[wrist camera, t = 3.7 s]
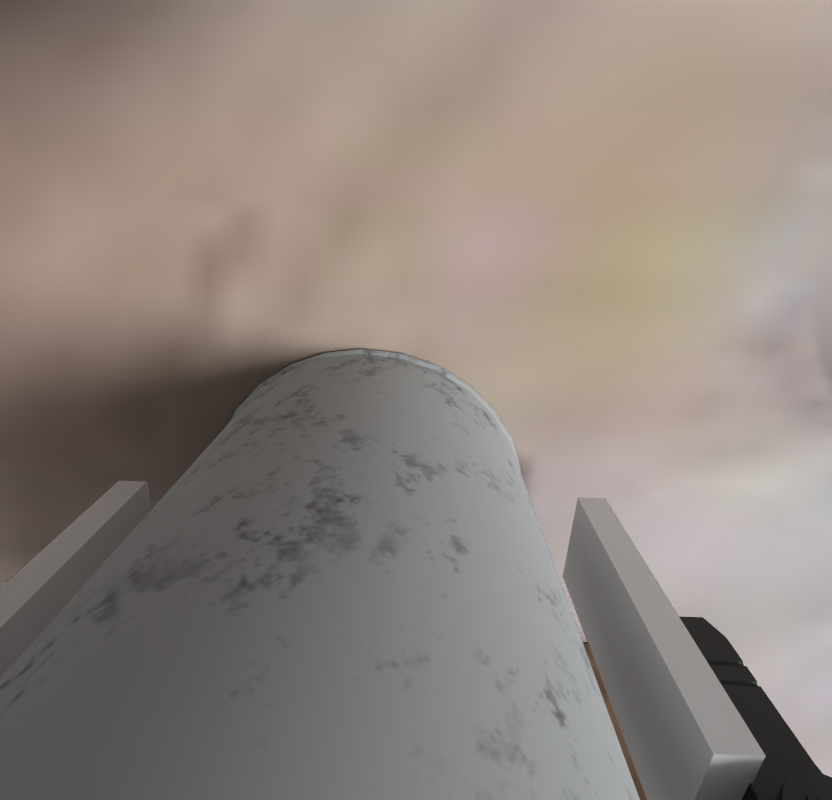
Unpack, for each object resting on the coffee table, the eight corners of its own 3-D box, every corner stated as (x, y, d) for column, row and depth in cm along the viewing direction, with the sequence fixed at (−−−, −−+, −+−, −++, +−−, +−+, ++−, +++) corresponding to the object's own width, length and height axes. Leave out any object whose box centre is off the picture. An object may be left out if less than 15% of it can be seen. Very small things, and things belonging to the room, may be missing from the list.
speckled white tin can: (182, 549, 16) (-410, 1394, 5) (277, 289, 13) (-986, 1017, 1) (436, 642, 17) (461, 1460, 6) (581, 431, 14) (1227, 1358, 3)
